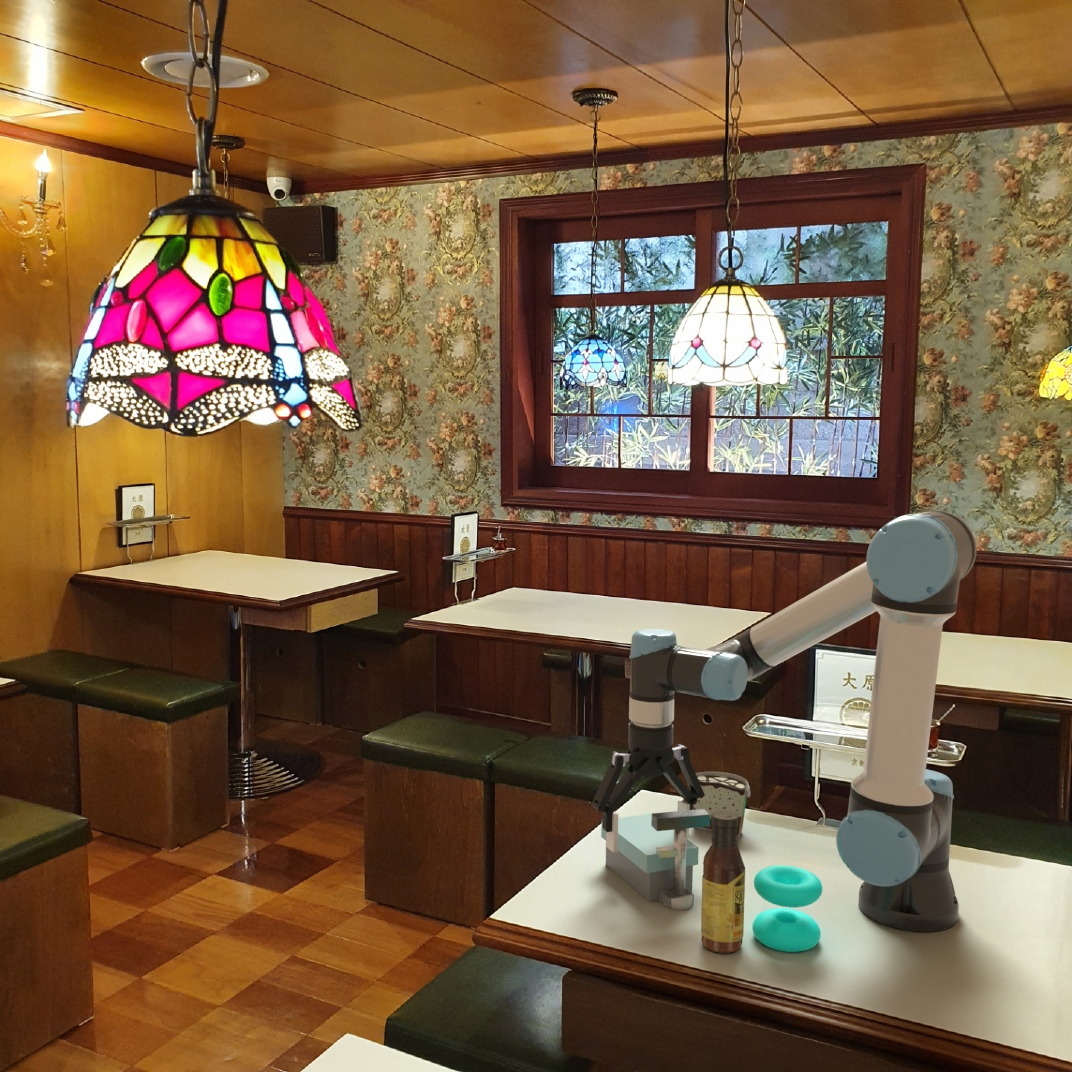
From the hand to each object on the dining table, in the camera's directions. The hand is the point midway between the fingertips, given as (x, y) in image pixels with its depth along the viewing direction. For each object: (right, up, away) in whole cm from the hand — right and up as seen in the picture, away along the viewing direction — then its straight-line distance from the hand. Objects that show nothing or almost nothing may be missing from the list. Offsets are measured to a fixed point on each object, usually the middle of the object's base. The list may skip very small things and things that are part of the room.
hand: (647, 844), depth 185 cm
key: (+4, -5, -9) cm, 11 cm away
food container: (+17, -4, +25) cm, 30 cm away
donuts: (+19, -9, -21) cm, 29 cm away
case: (+1, -6, -2) cm, 7 cm away
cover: (0, -1, 0) cm, 1 cm away
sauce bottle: (+9, -9, -23) cm, 26 cm away
